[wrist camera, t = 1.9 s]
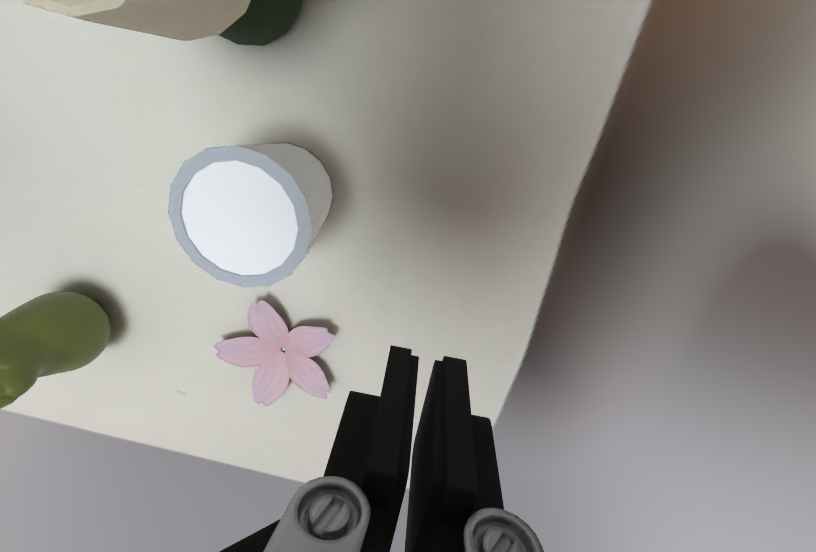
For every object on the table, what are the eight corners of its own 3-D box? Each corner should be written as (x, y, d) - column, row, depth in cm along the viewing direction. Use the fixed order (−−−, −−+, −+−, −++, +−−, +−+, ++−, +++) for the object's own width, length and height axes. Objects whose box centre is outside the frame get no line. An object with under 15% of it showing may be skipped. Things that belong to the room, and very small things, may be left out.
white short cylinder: (345, 139, 25) (312, 154, 19) (340, 249, 28) (310, 296, 22) (229, 125, 26) (157, 136, 19) (235, 237, 28) (174, 279, 22)
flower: (320, 263, 29) (313, 272, 27) (376, 384, 32) (373, 398, 30) (193, 305, 30) (181, 315, 29) (259, 415, 34) (251, 429, 32)
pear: (93, 267, 30) (-63, 345, 21) (142, 329, 31) (19, 426, 22) (36, 298, 31) (-134, 384, 22) (87, 356, 33) (-52, 458, 24)
